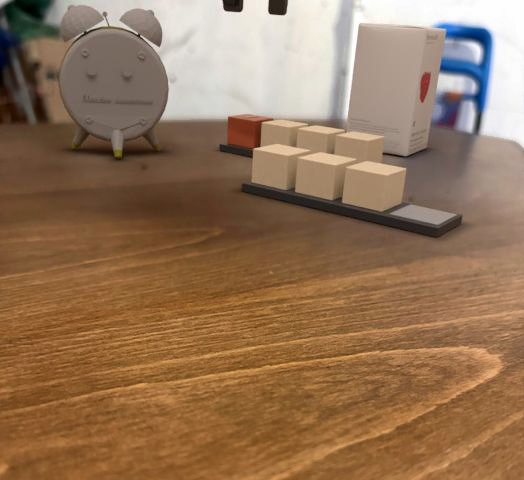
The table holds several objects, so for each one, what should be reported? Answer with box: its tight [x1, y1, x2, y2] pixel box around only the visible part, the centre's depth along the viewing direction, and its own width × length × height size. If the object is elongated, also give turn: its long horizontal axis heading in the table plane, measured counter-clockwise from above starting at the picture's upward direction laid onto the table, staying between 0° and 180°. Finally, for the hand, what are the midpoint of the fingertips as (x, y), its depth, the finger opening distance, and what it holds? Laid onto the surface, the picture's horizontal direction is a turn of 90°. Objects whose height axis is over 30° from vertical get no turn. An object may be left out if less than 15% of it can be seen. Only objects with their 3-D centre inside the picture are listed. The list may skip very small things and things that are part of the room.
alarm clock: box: [58, 4, 170, 160], centre depth 73 cm, size 12×7×15 cm, turn 102°
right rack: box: [241, 144, 464, 238], centre depth 61 cm, size 6×20×4 cm, turn 55°
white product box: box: [345, 22, 447, 157], centre depth 87 cm, size 9×9×15 cm
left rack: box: [219, 119, 385, 164], centre depth 78 cm, size 6×20×4 cm, turn 55°
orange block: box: [226, 113, 274, 149], centre depth 81 cm, size 4×4×3 cm
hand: (256, 13), depth 75 cm, fingers open, 8 cm apart
